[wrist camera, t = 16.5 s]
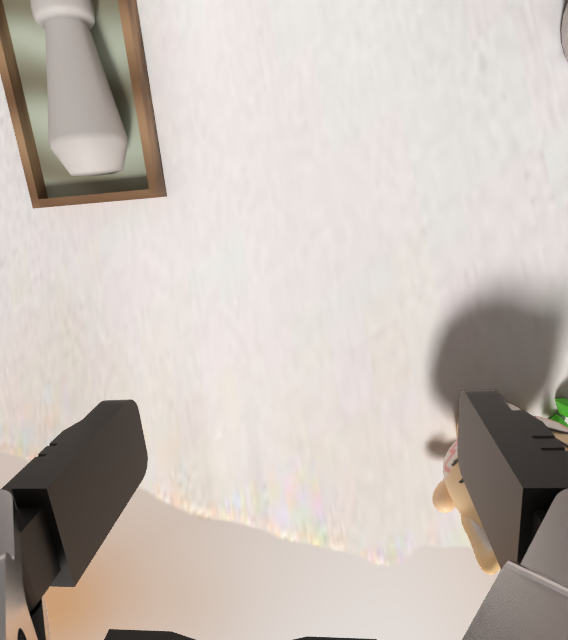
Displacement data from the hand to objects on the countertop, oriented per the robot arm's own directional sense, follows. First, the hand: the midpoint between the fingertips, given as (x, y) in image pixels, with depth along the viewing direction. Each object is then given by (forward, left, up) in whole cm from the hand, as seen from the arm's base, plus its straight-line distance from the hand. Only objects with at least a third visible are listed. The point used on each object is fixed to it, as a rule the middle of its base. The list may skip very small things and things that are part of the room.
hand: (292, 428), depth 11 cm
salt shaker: (+5, -18, -26) cm, 33 cm away
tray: (+1, -24, -30) cm, 39 cm away
